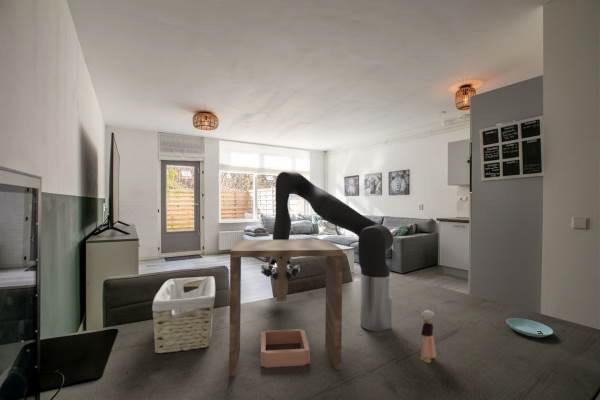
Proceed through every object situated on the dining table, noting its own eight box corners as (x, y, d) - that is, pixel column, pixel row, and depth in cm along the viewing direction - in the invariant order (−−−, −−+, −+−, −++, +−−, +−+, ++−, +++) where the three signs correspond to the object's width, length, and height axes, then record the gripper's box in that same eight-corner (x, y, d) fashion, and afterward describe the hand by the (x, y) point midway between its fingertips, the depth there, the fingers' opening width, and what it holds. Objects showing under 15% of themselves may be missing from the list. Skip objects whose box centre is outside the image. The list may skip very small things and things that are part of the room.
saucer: (553, 332, 93) (553, 325, 93) (552, 345, 84) (552, 338, 84) (508, 321, 101) (508, 315, 100) (503, 332, 92) (503, 325, 92)
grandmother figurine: (433, 366, 72) (434, 316, 72) (417, 362, 74) (418, 313, 74) (437, 353, 79) (438, 307, 79) (422, 349, 81) (423, 304, 81)
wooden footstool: (326, 335, 88) (327, 239, 88) (341, 369, 71) (342, 249, 70) (236, 339, 85) (237, 240, 85) (229, 376, 67) (230, 250, 67)
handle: (291, 303, 90) (291, 255, 90) (270, 302, 90) (271, 255, 90) (291, 297, 95) (292, 252, 95) (272, 297, 95) (272, 252, 95)
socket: (303, 340, 85) (303, 328, 85) (310, 364, 72) (310, 350, 72) (261, 342, 83) (261, 330, 83) (260, 367, 71) (260, 353, 71)
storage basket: (165, 321, 98) (165, 277, 98) (215, 316, 102) (215, 274, 102) (149, 358, 75) (150, 302, 75) (214, 350, 79) (215, 296, 79)
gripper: (260, 253, 106) (259, 264, 89) (298, 253, 108) (304, 263, 91) (260, 274, 106) (259, 288, 89) (298, 273, 108) (304, 287, 91)
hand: (282, 276), depth 90 cm, fingers closed on handle, 3 cm apart
